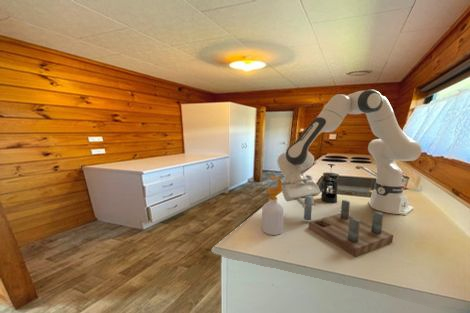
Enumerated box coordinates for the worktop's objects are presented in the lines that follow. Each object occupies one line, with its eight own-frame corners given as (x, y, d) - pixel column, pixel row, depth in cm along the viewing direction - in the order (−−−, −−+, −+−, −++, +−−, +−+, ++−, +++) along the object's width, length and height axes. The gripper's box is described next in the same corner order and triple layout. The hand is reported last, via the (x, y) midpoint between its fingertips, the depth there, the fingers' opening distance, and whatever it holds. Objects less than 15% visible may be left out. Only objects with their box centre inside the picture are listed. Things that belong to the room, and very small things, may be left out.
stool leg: (307, 216, 96) (308, 195, 95) (312, 219, 93) (313, 197, 92) (302, 218, 95) (303, 196, 94) (307, 220, 92) (308, 198, 91)
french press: (330, 204, 116) (333, 166, 113) (316, 199, 124) (319, 163, 121) (342, 201, 122) (345, 164, 119) (328, 196, 130) (330, 162, 126)
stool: (342, 218, 97) (343, 197, 96) (392, 242, 77) (395, 215, 76) (308, 227, 88) (309, 204, 87) (355, 256, 68) (358, 227, 67)
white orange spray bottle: (259, 225, 90) (260, 173, 87) (279, 224, 91) (280, 173, 88) (264, 236, 81) (265, 178, 78) (285, 235, 82) (288, 177, 79)
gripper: (281, 180, 94) (295, 206, 86) (314, 175, 102) (328, 199, 95) (276, 186, 98) (288, 212, 91) (307, 182, 107) (320, 205, 99)
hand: (309, 206), depth 93 cm, fingers closed on stool leg, 3 cm apart
